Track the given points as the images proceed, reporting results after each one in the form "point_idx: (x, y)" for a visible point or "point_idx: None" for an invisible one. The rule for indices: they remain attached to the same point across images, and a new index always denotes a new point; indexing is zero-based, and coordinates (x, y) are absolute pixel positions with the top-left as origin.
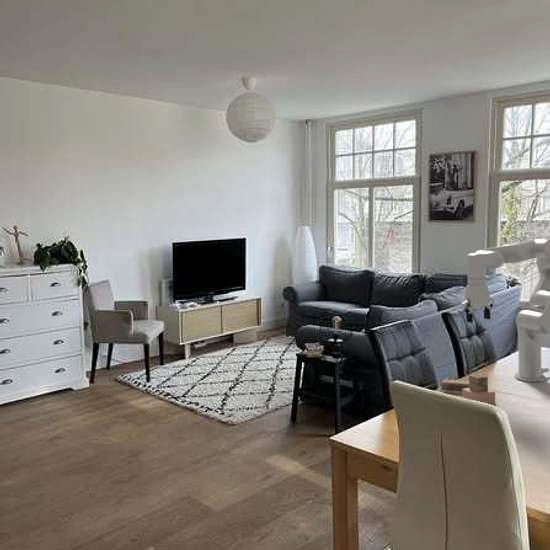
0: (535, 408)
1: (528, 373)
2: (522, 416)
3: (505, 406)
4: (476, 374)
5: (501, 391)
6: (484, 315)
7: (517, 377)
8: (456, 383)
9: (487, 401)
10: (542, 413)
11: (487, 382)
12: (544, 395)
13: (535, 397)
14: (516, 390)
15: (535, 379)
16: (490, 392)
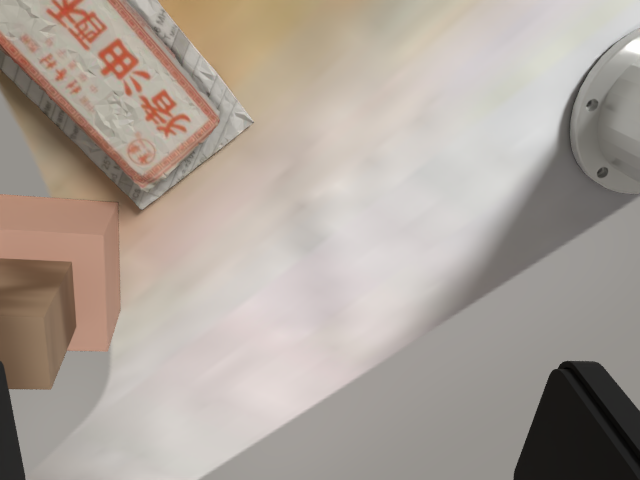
0: (233, 420)
1: (618, 158)
2: (108, 455)
3: (136, 355)
4: (8, 325)
5: (306, 192)
6: (590, 434)
7: (587, 87)
8: (20, 66)
9: None
10: (208, 462)
11: (60, 361)
12: (417, 334)
13: (360, 334)
14: (386, 222)
15: (603, 183)
16: (71, 350)
